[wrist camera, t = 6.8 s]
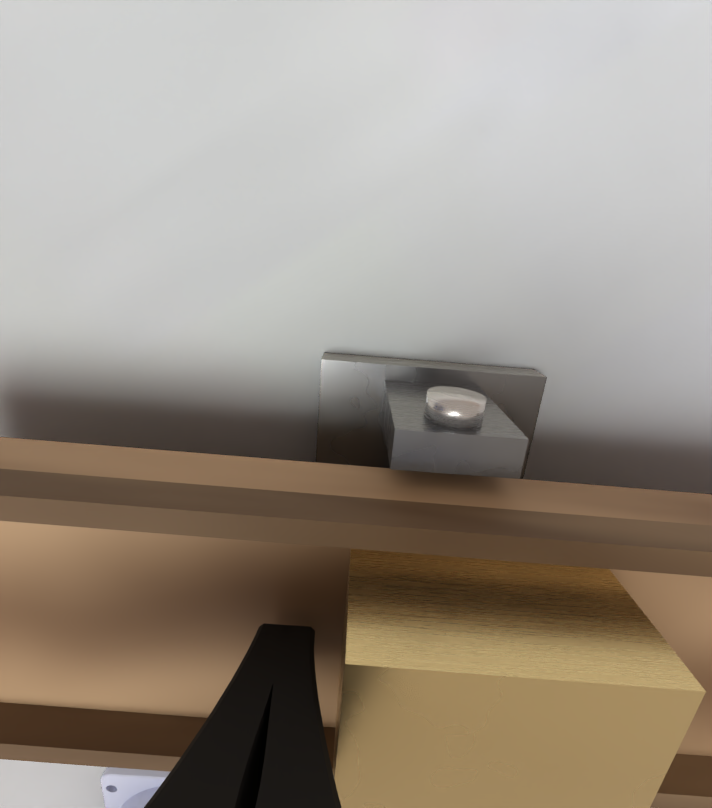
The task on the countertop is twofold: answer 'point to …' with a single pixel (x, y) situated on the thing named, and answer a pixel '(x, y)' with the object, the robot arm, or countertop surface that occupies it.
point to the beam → (279, 582)
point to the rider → (502, 687)
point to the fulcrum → (427, 415)
